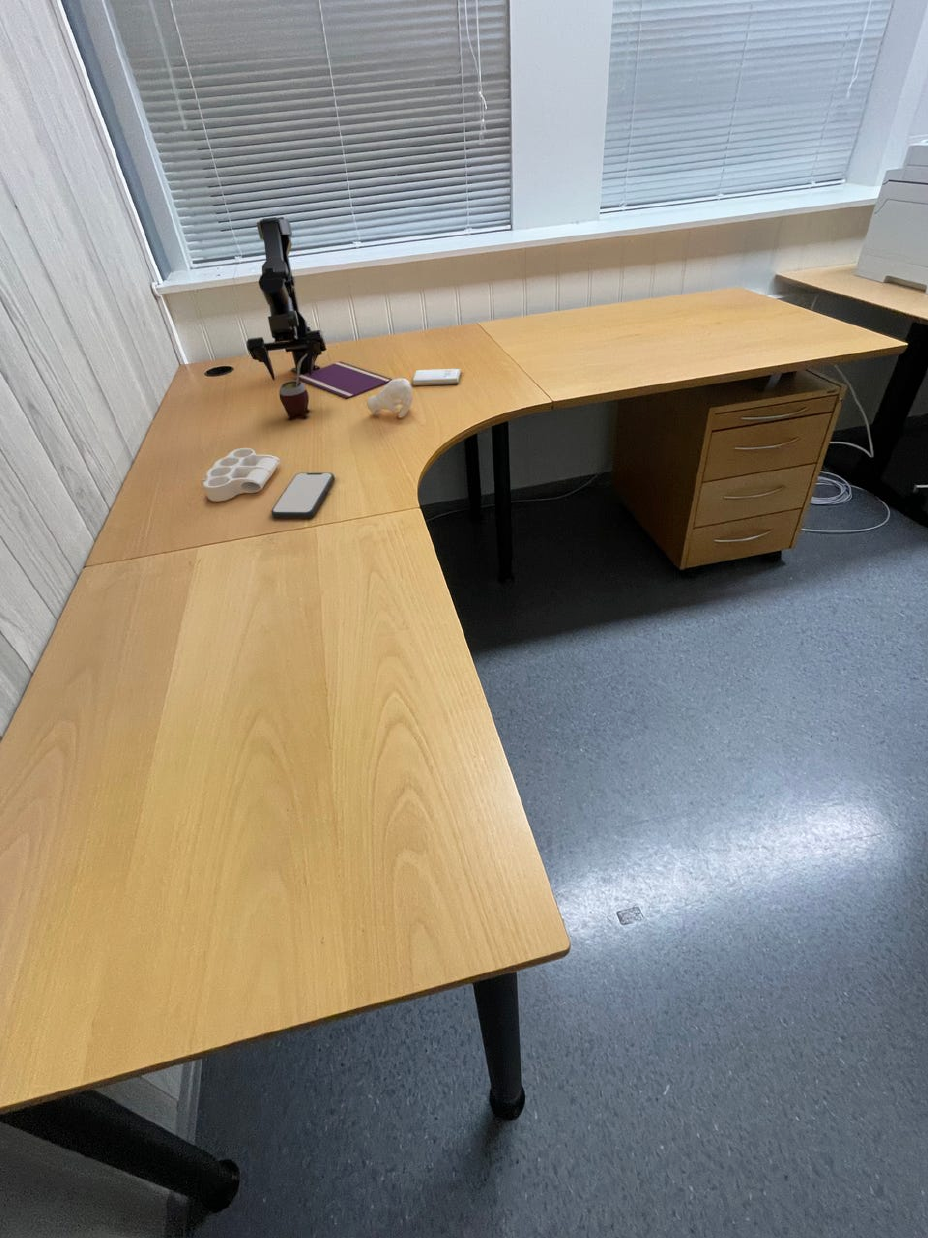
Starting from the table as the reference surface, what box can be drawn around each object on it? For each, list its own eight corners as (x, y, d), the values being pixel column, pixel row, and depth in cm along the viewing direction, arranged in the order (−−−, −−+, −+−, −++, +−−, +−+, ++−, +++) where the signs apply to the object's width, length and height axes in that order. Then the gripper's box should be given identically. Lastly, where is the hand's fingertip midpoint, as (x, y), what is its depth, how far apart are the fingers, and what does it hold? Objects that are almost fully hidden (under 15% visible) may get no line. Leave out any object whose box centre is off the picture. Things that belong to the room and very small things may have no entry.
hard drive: (417, 375, 172) (460, 373, 171) (413, 385, 166) (457, 384, 165) (417, 369, 171) (460, 367, 170) (412, 379, 165) (457, 378, 164)
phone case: (313, 520, 117) (337, 478, 129) (311, 513, 116) (335, 471, 127) (270, 519, 118) (298, 478, 130) (268, 512, 117) (296, 471, 129)
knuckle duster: (257, 501, 124) (191, 501, 126) (286, 460, 137) (226, 461, 139) (252, 487, 121) (185, 487, 123) (282, 446, 135) (222, 447, 137)
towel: (296, 378, 177) (295, 376, 177) (340, 362, 185) (340, 361, 185) (347, 398, 163) (346, 397, 162) (392, 380, 170) (392, 378, 170)
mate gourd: (280, 417, 156) (263, 357, 146) (305, 406, 160) (290, 348, 150) (297, 423, 152) (280, 363, 142) (321, 413, 156) (307, 353, 146)
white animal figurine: (405, 383, 144) (358, 389, 146) (413, 417, 149) (367, 422, 152) (410, 373, 148) (364, 379, 151) (418, 407, 154) (373, 412, 156)
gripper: (235, 303, 143) (244, 366, 142) (313, 294, 145) (323, 355, 144) (249, 329, 154) (257, 387, 153) (321, 320, 156) (331, 378, 155)
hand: (291, 377), depth 151 cm, fingers open, 9 cm apart
